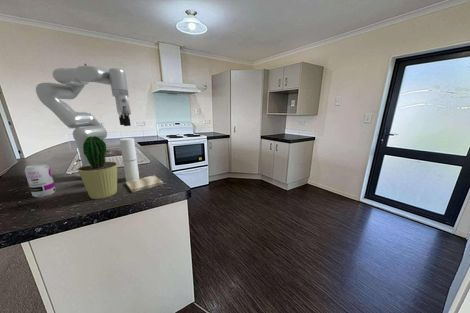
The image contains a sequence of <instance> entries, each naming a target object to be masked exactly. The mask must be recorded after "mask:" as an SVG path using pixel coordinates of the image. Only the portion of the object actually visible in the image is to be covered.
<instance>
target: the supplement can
mask: <svg viewBox="0 0 470 313" xmlns="http://www.w3.org/2000/svg"><path fill="white" fill-rule="evenodd" d="M24 173H25V176H26V179H27V184H28V187H29V190H30V193H31V196H32V197H34V198H43V197H48V196H51V195H54V193H55V192H56V191H57V189H56V186H55V181H54V178H53V177H54V176H53V175H52V171H51V168H50V166H49V165H48V164H47V163H36V164H30V165H27V166H26V167H25V169H24Z"/></svg>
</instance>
